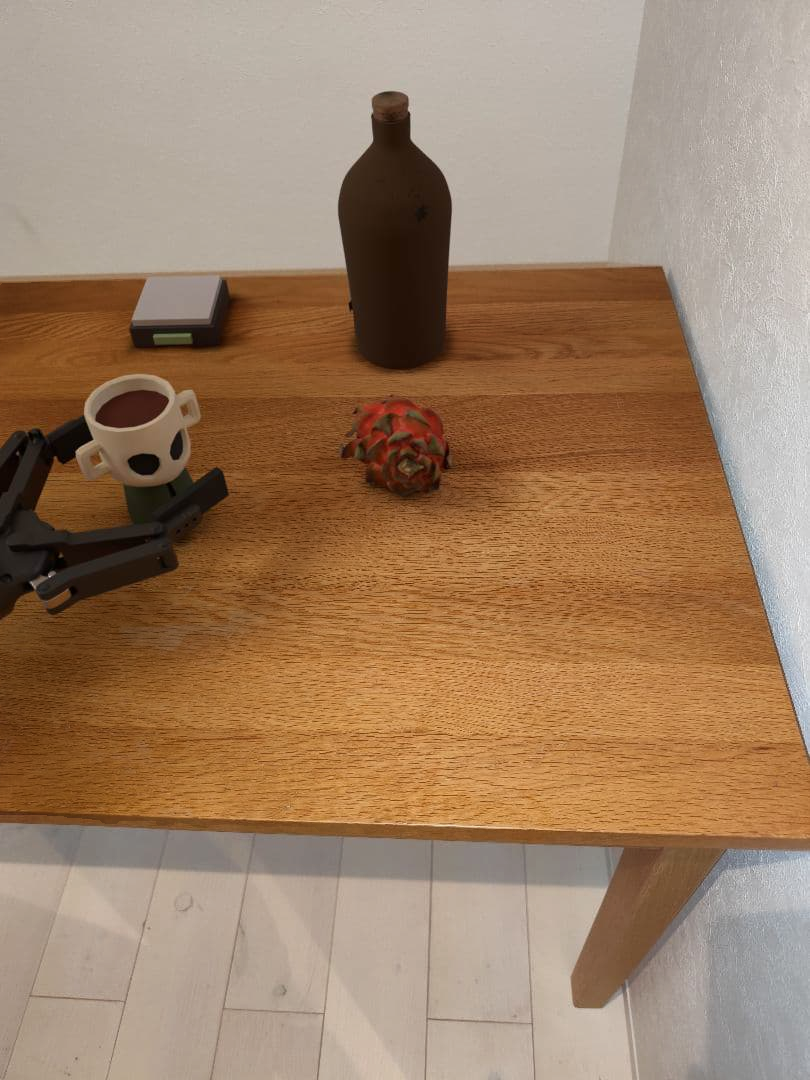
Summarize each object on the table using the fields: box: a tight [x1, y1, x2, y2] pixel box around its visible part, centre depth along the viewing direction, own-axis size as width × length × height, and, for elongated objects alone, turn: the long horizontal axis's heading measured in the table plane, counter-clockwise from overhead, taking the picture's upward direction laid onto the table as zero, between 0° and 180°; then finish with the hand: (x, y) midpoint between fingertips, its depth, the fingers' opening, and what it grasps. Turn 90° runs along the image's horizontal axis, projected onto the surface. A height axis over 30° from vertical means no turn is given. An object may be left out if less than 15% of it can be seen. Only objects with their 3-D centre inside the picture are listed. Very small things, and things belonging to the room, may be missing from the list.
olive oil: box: [337, 90, 453, 370], centre depth 85 cm, size 11×11×25 cm
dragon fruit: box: [338, 393, 455, 498], centre depth 79 cm, size 8×8×12 cm
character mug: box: [75, 373, 202, 525], centre depth 74 cm, size 11×7×13 cm, turn 133°
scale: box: [128, 274, 231, 348], centre depth 97 cm, size 9×10×3 cm
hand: (169, 444), depth 74 cm, fingers open, 13 cm apart
